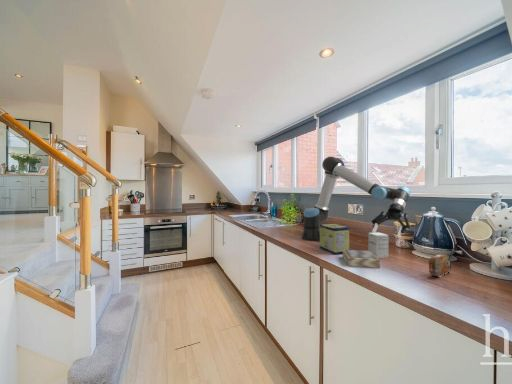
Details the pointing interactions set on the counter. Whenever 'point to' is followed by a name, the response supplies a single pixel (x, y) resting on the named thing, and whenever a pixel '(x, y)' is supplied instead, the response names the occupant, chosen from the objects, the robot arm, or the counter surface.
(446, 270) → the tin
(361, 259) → the brown shallow tray
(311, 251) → the counter surface
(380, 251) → the supplement box
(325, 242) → the protein box
